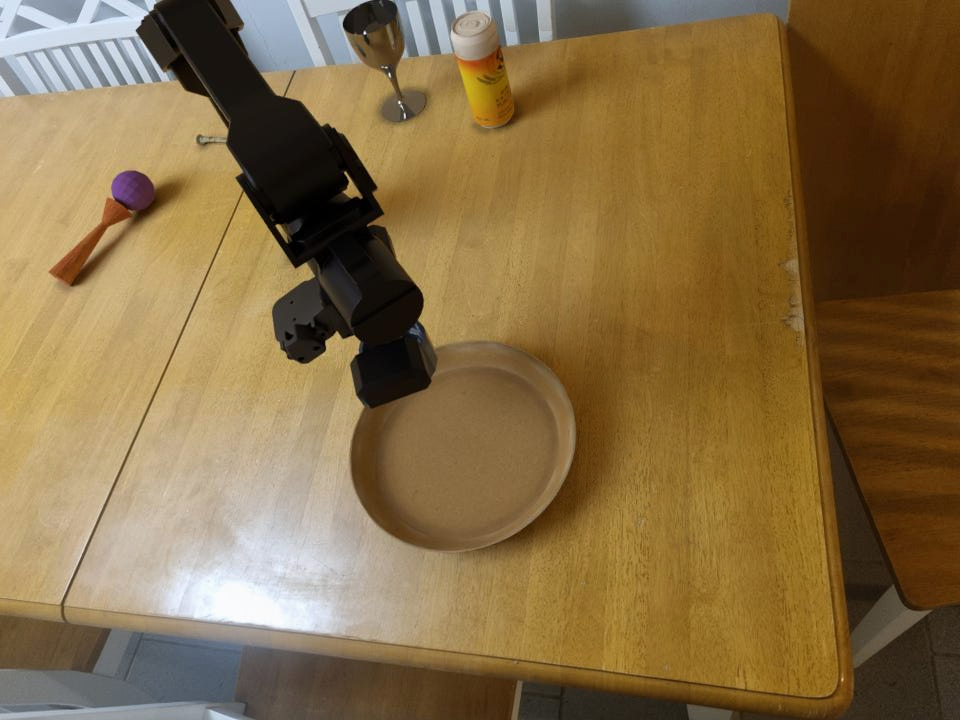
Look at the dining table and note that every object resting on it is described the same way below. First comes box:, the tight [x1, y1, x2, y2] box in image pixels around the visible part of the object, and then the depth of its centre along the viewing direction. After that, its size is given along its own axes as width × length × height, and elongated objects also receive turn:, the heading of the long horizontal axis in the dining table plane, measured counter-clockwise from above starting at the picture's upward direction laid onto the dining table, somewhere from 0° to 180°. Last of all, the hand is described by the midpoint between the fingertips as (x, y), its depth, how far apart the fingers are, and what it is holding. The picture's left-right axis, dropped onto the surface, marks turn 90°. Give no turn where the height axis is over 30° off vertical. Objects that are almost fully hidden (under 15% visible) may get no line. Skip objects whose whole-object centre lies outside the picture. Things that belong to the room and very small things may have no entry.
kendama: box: [47, 170, 156, 287], centre depth 109 cm, size 6×6×20 cm
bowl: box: [358, 319, 438, 377], centre depth 73 cm, size 7×7×4 cm
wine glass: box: [342, 0, 427, 123], centre depth 106 cm, size 8×8×15 cm
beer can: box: [450, 9, 516, 129], centre depth 100 cm, size 6×6×15 cm
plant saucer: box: [348, 339, 577, 554], centre depth 77 cm, size 24×24×3 cm
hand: (403, 359), depth 73 cm, fingers closed on bowl, 7 cm apart
